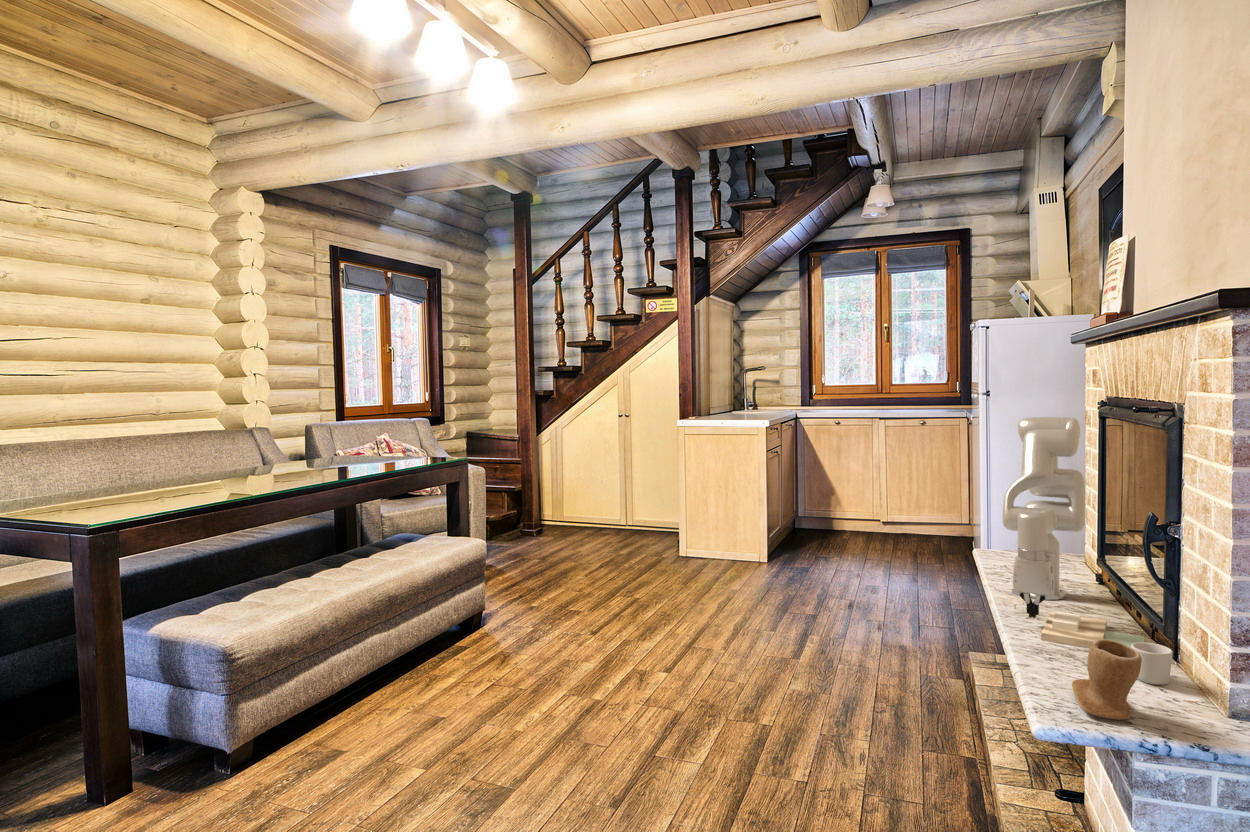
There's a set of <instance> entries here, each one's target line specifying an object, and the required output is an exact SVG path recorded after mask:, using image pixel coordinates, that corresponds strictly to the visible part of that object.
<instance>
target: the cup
mask: <svg viewBox="0 0 1250 832" xmlns="http://www.w3.org/2000/svg"><path fill="white" fill-rule="evenodd" d="M1131 648H1133V649H1134V650H1136V651H1137V652H1138V653H1139V654H1140V656H1141V658H1142V663H1141V669H1140V673H1139V676H1138V678H1137V680H1139V681H1141V682H1143V683H1147V684H1149V685H1157V686H1161V685H1166V684H1168V682H1169V681H1170V677H1171V669H1172V664H1173V663H1172V662H1173V654H1174V652H1173V650H1172V649H1171V648H1170V647H1167V646H1165V645H1162V644H1158V643H1154V642H1145V641H1144V642H1137V643H1133V644H1132V645H1131Z"/></svg>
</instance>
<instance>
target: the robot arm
mask: <svg viewBox="0 0 1250 832" xmlns="http://www.w3.org/2000/svg"><path fill="white" fill-rule="evenodd" d="M1017 432H1018V435H1019V436H1018V437H1019V438H1020V440H1021V443H1022V452H1021V453H1022V456H1021V457H1022V460H1021V473H1020V476H1019V477H1017V478H1016V479H1015V480H1014V481H1013V482H1012V483H1010V485H1009V486H1008V488H1007V489H1006V490H1005V494H1004V496H1003V500H1002V501H1003V503H1002V525H1003V526H1004V528H1005V529H1007V530H1009V531H1011V532H1012V531H1013V532H1017V556H1015V557H1014V562H1013V568H1012V569H1013V571H1012V591H1011V593H1012V595H1015V596H1018V597H1020V598H1021V599H1022V600H1023V601H1024V602H1025V603H1026V614H1028V618H1033V619H1036V617H1037V616H1039V614H1040V604H1041V603H1042V602H1044V601H1046V600H1047V601H1050V600H1051V601H1052V600H1053V601H1055V600H1056V601H1057V600H1062V599H1064V598H1065V597H1066V593H1065V591H1063V590H1061V589H1060V543H1059V540H1058V538H1057V537H1056V536H1055V535H1054V534H1053V532H1055V531H1059V532H1070V533H1071V532H1074V533H1075V532H1078V533H1079V532H1081V531H1082V530H1084V528H1085V526H1086V525H1085V524H1086V486H1085V478H1084V475H1083V474H1082V472H1080V470H1077V469H1074V468H1072V469H1071V468H1059V466H1058V460H1059V459H1058V457H1061V458H1063V457H1065V458H1070V457H1071V458H1072V457H1074V456H1075V455H1076V454H1077V452H1078V448H1079V445H1080V444H1079V443H1080V437H1081V436H1080V435H1081V427H1080V422H1079V421H1078V420H1077V419H1076V418H1074V417H1063V416H1062V417H1060V416H1059V417H1057V416H1056V417H1055V416H1054V417H1053V416H1052V417H1050V416H1046V417H1045V416H1043V417H1042V416H1039V417H1038V416H1031V417H1024V418H1022V419H1020V420H1018V423H1017ZM1025 491H1029V493H1030V494H1032V495H1033V496H1037V497H1045V498H1046V497H1047V498H1059V499H1060V498H1061V499H1066V500H1068V502H1067V501H1055V500H1031V501H1028V502H1027V503H1026V504H1024V505H1023V506H1019V505H1018V506H1014V504H1015V501H1016V498H1017V497H1019V495H1020V494H1022V493H1023V492H1025ZM1033 598H1034V601H1033V600H1032V599H1033Z"/></svg>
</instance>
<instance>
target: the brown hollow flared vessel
mask: <svg viewBox="0 0 1250 832" xmlns="http://www.w3.org/2000/svg"><path fill="white" fill-rule="evenodd" d="M1088 649H1089V650H1088V654H1087V655H1088V656H1087V662H1086V664H1087V665H1086V666H1087V672H1088V679H1085V678H1083V679H1081V678H1079V679H1075V680H1072V681H1071V687H1072V688H1071V689H1072V691H1073V696H1074V697H1075V700H1076V703H1077V705H1078V706H1079V708H1080V709H1081V710H1082V711H1084V712H1085V713H1087V714H1090V715H1091V716H1095V717H1100V718H1104V719H1110V720H1120V721H1121V720H1125V721H1126V720H1129V719H1130V717H1131V713H1132V712H1131V706H1130V704H1129V702H1128V696H1129V693H1130V691H1131V690H1132V688H1133V686H1134V684H1136V681H1137V680H1138V676H1139V673H1140V669H1141V663H1142V658H1141V656H1140V654H1139V653H1138V652H1137V651H1136V650H1134V649H1133V648H1131V647H1129V646H1126V645H1125V644H1122V643H1120V642H1117V641H1113V640H1109V639H1098V640H1095V641H1093V642H1092V643H1091V645H1090V648H1088Z"/></svg>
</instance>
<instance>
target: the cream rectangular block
mask: <svg viewBox="0 0 1250 832" xmlns="http://www.w3.org/2000/svg"><path fill="white" fill-rule="evenodd" d="M1055 612H1056V613H1055V616H1054V618H1053V620H1052V628H1056V629H1062V630H1068V631H1075V632H1077V631H1078V628H1079V625H1080V622H1081V616H1082V615H1081V614H1077V613H1071V612H1070V613H1069V612H1063V611H1055Z"/></svg>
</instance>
